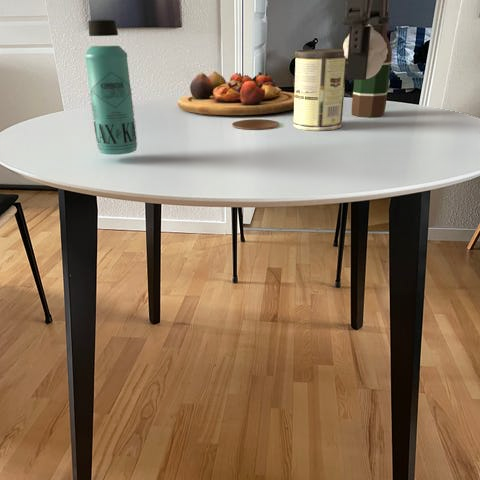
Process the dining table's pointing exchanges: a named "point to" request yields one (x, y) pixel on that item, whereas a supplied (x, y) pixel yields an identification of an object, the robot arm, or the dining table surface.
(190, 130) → the dining table surface
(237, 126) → the coaster
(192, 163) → the dining table surface
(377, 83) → the beer bottle
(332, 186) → the dining table surface
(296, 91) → the coffee can
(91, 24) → the beverage bottle
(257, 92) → the wooden plate
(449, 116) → the dining table surface
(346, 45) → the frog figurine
